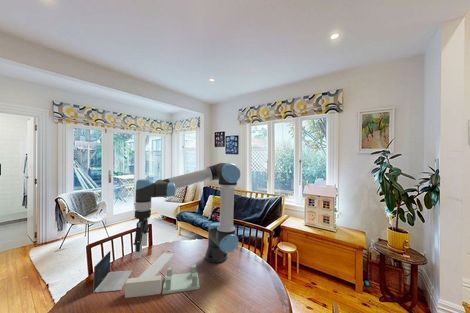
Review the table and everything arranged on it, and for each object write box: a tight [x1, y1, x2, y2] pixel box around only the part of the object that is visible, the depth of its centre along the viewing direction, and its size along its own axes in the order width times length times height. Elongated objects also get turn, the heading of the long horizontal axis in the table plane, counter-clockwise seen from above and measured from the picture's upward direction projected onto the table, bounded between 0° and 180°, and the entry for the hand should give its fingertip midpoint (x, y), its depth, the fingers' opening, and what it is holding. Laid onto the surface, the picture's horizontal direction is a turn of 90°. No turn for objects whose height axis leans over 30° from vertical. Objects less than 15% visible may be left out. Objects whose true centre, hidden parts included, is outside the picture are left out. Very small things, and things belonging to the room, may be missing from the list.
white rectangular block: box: [124, 274, 163, 299], centre depth 99 cm, size 16×4×7 cm, turn 102°
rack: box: [161, 264, 200, 295], centre depth 107 cm, size 18×14×6 cm
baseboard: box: [137, 250, 175, 278], centre depth 124 cm, size 30×3×10 cm
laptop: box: [92, 250, 133, 294], centre depth 108 cm, size 18×12×13 cm
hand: (141, 251), depth 102 cm, fingers open, 13 cm apart
